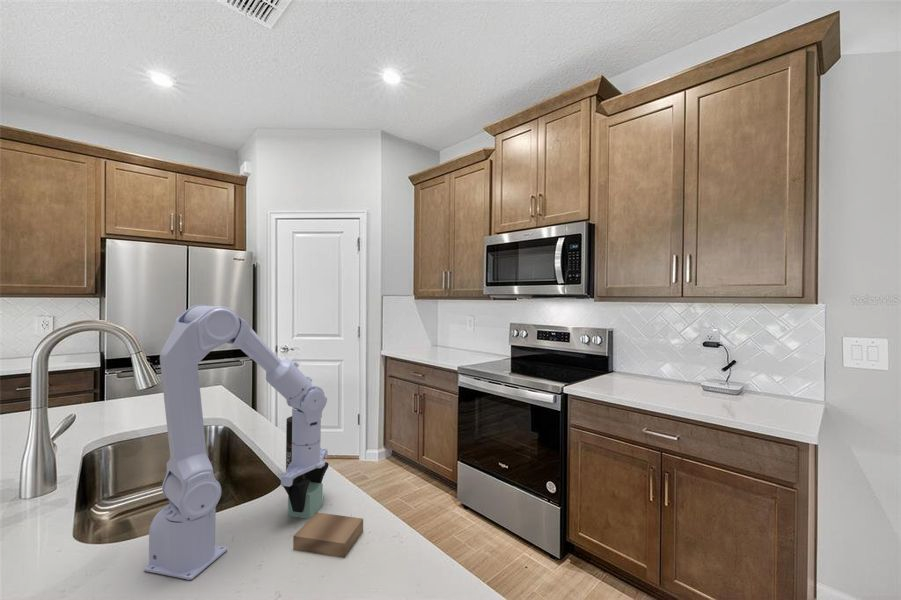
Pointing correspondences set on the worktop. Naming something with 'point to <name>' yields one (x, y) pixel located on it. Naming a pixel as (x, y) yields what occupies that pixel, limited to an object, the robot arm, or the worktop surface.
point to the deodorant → (289, 443)
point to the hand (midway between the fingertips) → (305, 504)
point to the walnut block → (328, 535)
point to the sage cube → (309, 501)
